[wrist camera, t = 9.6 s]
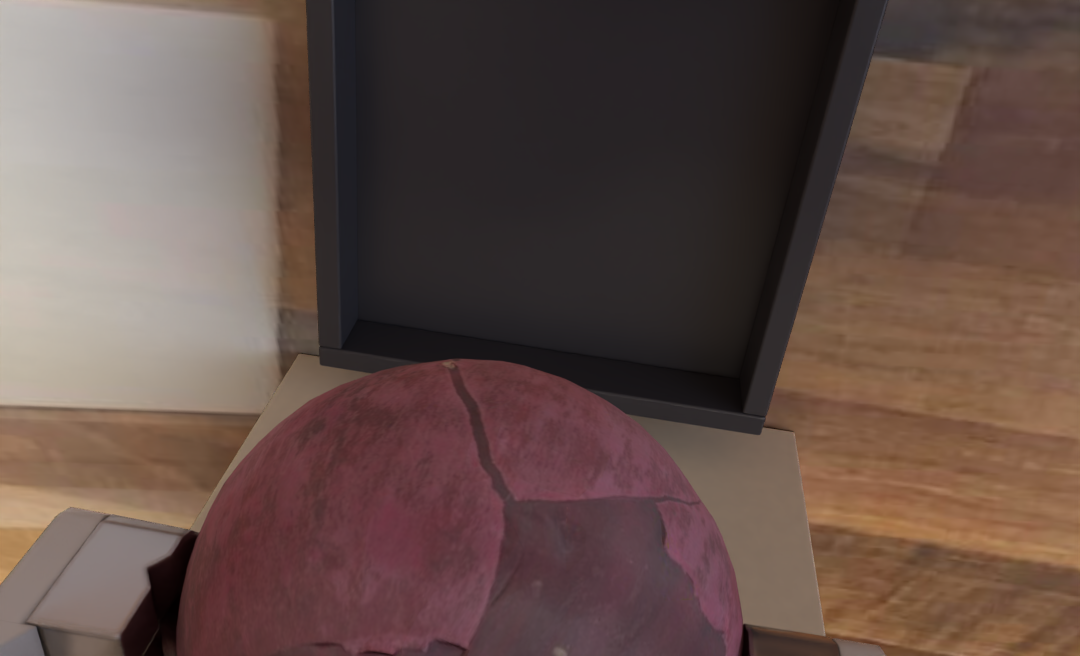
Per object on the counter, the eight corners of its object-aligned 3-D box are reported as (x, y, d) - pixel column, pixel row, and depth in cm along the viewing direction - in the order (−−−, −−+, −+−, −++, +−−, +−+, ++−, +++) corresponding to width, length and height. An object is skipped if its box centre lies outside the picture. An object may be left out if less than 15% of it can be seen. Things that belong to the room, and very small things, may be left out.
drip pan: (338, -132, 20) (300, -117, 18) (879, -62, 19) (900, -38, 17) (346, 318, 26) (318, 366, 24) (755, 382, 25) (760, 437, 23)
